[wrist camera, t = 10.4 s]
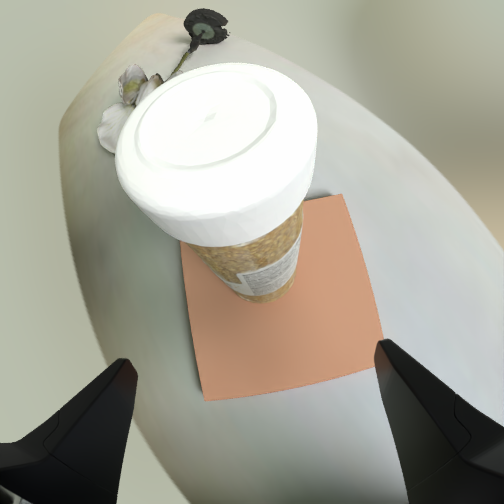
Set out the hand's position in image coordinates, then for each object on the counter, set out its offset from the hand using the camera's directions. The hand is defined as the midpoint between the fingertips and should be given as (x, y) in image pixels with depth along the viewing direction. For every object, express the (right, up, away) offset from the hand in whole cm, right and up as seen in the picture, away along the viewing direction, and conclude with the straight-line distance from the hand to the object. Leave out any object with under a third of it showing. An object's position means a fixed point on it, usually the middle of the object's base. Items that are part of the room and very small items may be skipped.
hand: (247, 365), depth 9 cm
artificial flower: (-8, +22, +18) cm, 29 cm away
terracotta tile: (+2, +1, +9) cm, 10 cm away
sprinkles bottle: (+1, +3, +9) cm, 10 cm away
